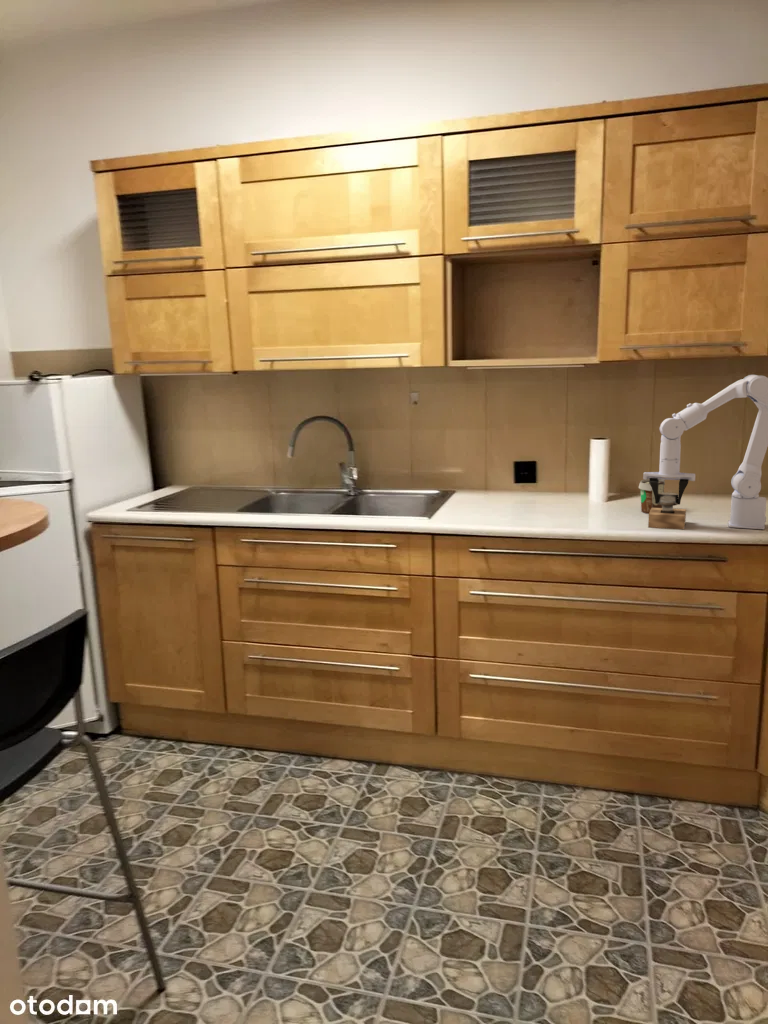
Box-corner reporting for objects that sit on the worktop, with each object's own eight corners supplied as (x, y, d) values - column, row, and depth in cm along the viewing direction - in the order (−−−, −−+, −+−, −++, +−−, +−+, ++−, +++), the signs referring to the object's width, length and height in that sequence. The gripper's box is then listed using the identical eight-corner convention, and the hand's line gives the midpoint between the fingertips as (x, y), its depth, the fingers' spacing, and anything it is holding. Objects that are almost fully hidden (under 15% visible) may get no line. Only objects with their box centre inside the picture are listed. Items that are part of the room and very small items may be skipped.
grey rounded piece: (678, 513, 226) (679, 492, 225) (676, 517, 221) (676, 496, 220) (659, 512, 228) (659, 492, 227) (656, 516, 224) (657, 495, 222)
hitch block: (685, 521, 228) (686, 509, 227) (683, 529, 219) (684, 516, 218) (650, 520, 232) (651, 507, 231) (648, 527, 223) (648, 514, 222)
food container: (645, 506, 251) (646, 477, 249) (663, 508, 248) (665, 478, 245) (631, 513, 242) (632, 483, 240) (650, 515, 238) (651, 484, 236)
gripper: (696, 457, 222) (694, 501, 224) (645, 456, 227) (643, 499, 230) (695, 460, 215) (693, 506, 218) (643, 459, 221) (641, 504, 224)
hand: (667, 503), depth 224 cm, fingers closed on grey rounded piece, 6 cm apart
